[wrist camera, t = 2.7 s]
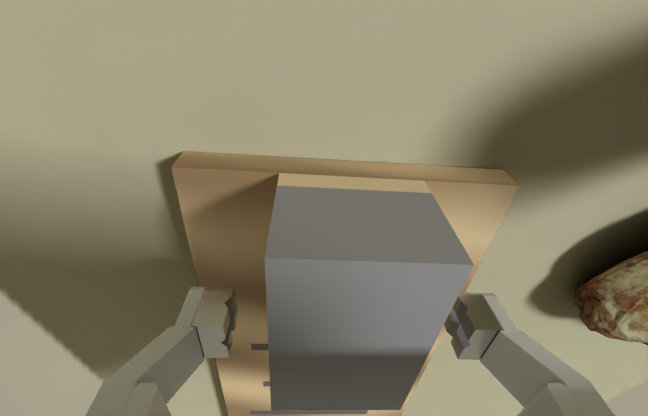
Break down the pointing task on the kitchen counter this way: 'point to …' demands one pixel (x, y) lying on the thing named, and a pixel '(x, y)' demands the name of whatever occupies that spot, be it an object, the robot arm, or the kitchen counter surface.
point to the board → (252, 235)
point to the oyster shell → (617, 301)
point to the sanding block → (356, 289)
